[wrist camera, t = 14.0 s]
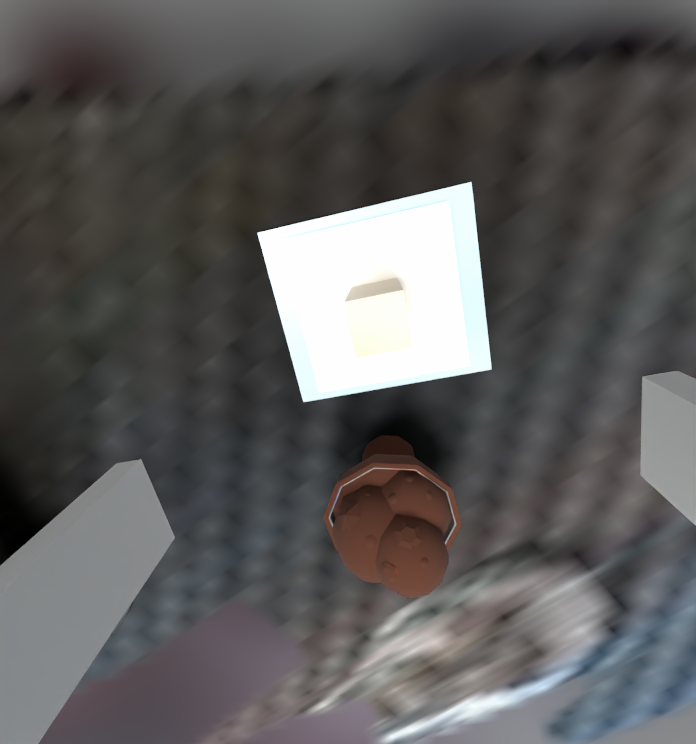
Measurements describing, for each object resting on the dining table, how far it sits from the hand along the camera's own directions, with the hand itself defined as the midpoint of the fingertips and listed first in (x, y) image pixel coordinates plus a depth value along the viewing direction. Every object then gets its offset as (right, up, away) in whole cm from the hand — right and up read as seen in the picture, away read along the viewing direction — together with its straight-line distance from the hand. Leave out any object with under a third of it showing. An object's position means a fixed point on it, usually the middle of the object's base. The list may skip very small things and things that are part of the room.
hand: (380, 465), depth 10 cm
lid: (+2, +9, +25) cm, 26 cm away
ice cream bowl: (+3, -6, +30) cm, 31 cm away
